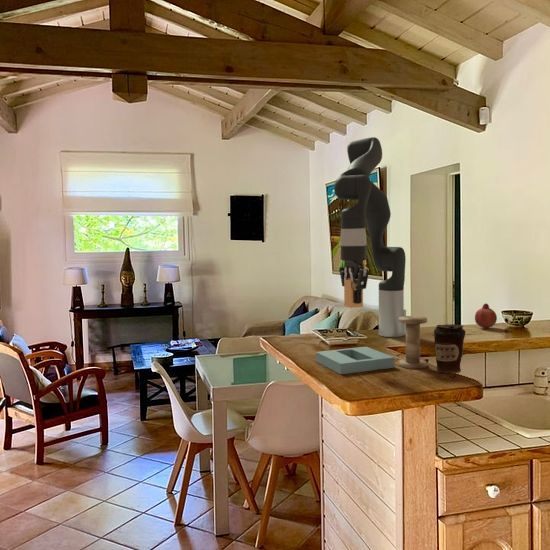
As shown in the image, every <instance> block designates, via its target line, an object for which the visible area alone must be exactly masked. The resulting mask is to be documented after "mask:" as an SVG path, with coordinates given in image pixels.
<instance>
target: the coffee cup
mask: <svg viewBox="0 0 550 550" xmlns="http://www.w3.org/2000/svg"><path fill="white" fill-rule="evenodd" d="M463 327H464V326H463V325H461V324H460V325H459V324H446V323H445V324H437V325H436V326H435V328H434V330H433V337H434V351H435V353H434V355H435V361H436V363H435V364H436V371H437V372H439V373H442V374H443V373H444V374H460V373H462V369H461V362H462V358H463V355H464V354H463V353H464V342H465V341H464V340H465V337H466V330H465V329H463Z"/></svg>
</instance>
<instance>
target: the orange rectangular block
mask: <svg viewBox="0 0 550 550" xmlns="http://www.w3.org/2000/svg"><path fill="white" fill-rule="evenodd" d="M355 280H358V279H355ZM356 284H357V283H356ZM362 284H363V282H362ZM343 290H344V292H343V298H344V299H343V300H344V301H343V304H344V307H346V308H350V309H355V308H364V289H363V290H362V302H361V303H360V304H355V303H354V288H353V283H352V280H351V279H344V286H343Z"/></svg>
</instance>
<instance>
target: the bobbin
mask: <svg viewBox="0 0 550 550" xmlns="http://www.w3.org/2000/svg"><path fill="white" fill-rule="evenodd" d="M399 322H401V323H406V335H405V358H401V359H400V360H398V366H399V367H401V368H405V369H411V370H412V369H413V370H418V369H419V370H420V369H424V368H427V367H428V361H426V360H424V359H421V324H423V325H424V324H427V323H428V318H427V317H426V316H421V315H420V316H418V315H406V316H402V317H399Z"/></svg>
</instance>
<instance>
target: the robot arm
mask: <svg viewBox="0 0 550 550" xmlns="http://www.w3.org/2000/svg"><path fill="white" fill-rule="evenodd" d="M346 150H347V151H346V152H347V156H348V161H349V166H348V167H347V170H345V171H344V172H342V173H341V174H339V175H338V176H337V178H336V179H335V182H334V185H333V186H334V187H333V192H334V194H335V196H336V197H337V198H338V199H339V200H341V201H350V200H351V201H355V200H358V201H357V203H356V205H354V206H351V207H346V208H344V209H342V210H341V213H340V235H339V237H340V241H339V243H340V245H339V246H340V260H341V261H342V262H344V264H343V265H344V266H341V267H339V275H340V280H341V286H342V287H344V279H351V280H352V283H353V288H354V303H355V304H360V303H361V302H362V290H363V291H364V290H366V289H367V286H368V285H367V284H368V278H369V275H370V274H369V273H370V271H369V269H367V268H364V264H363V262H364V261H366V260H367V232H366V226H367V231H368V234H369V239H370V245H371V252H372V258H373V263H374V266H375V268H376V270H377V271H380V272H391V276H390V277H389V278H387V279H384V280H381V281H380V282H378V335H379V336H381V337H386V338H398V337H399V338H400V337H403V336H406V323H401V322H399V317H402V316H407V310H406V309H404V308H405V304H404V303H405V302H404V301H405V299H404V298H405V296H404V294H405V292H404V291H405V289H404V288H405V281H406V280H405V279H406V278H405V277H406V275H405V273H406V262H407V261H406V257H407V256H406V252H405V250H404V248H403V247H402V246H385V244H384V234H385V231H386V229H387V226H388V224H389V222H390V219H391V214H392V213H391V209H390V205H389V204H390V203H389V199H388V197H387V195H386V194H385V192H384V191H383V190H381V188H379V187H378V186H377V185H376V184H375V183H374V182H373V181H372V180H371V179H370V176H371V174H372V173H373V171H374V169H376V168H377V166H378V165H379V164H380V163H381V161H382V159H383V149H382V144H381V141H380V140H379V139H378V138H377V137H375V136H373V137H365V138H362V139H358V140H352V141H350V142H349V143H348V144H347V147H346ZM355 279H358V280H355ZM362 282H363V284H362ZM356 283H357V284H356Z"/></svg>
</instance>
